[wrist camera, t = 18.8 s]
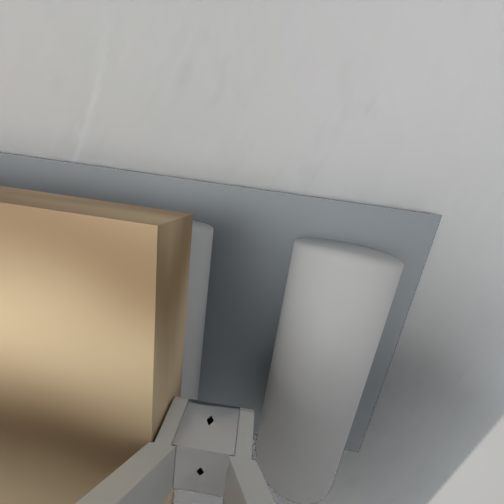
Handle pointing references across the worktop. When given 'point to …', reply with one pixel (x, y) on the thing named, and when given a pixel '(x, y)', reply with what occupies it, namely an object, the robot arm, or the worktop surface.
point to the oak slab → (85, 338)
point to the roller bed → (276, 305)
